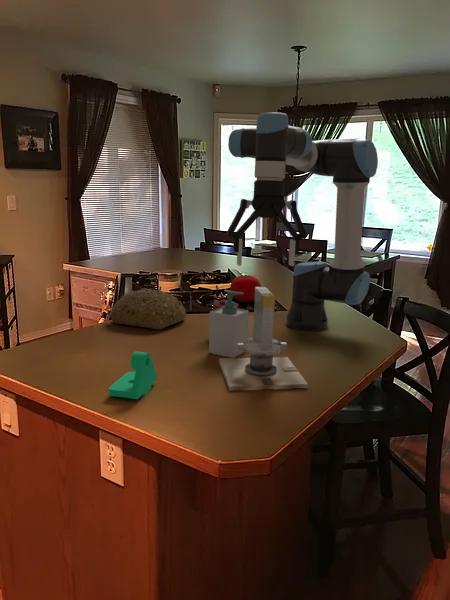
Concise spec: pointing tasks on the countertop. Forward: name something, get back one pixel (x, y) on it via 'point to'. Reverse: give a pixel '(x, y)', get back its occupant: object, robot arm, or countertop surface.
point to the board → (242, 380)
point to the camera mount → (135, 378)
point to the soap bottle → (228, 328)
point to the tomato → (245, 287)
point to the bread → (148, 309)
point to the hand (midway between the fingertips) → (265, 265)
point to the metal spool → (261, 366)
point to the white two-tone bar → (263, 327)
